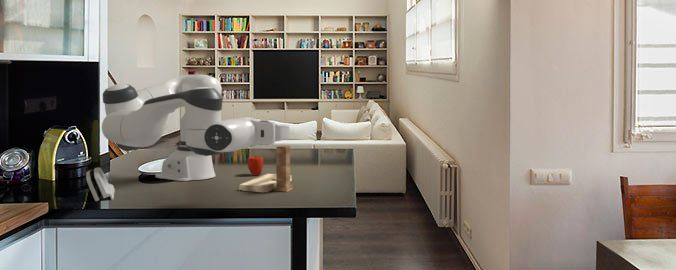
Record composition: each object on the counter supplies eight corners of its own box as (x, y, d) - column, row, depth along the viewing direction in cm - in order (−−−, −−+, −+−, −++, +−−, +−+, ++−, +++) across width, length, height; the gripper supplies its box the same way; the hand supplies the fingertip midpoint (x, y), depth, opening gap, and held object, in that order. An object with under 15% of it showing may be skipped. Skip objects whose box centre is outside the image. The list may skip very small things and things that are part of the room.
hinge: (113, 199, 157) (100, 170, 155) (97, 206, 155) (83, 176, 153) (114, 189, 172) (102, 162, 170) (100, 194, 171) (88, 167, 169)
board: (239, 190, 172) (239, 184, 172) (267, 178, 193) (267, 173, 193) (266, 192, 169) (266, 186, 169) (291, 180, 190) (291, 175, 190)
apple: (244, 174, 201) (244, 156, 200) (256, 172, 206) (256, 154, 205) (254, 176, 197) (253, 157, 196) (266, 174, 201) (266, 156, 200)
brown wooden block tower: (268, 190, 173) (268, 146, 171) (274, 187, 178) (274, 144, 176) (287, 191, 171) (287, 147, 169) (292, 188, 176) (292, 145, 174)
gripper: (214, 141, 150) (237, 137, 163) (277, 144, 144) (296, 140, 157) (213, 120, 150) (237, 117, 163) (277, 122, 143) (296, 119, 157)
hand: (266, 128), depth 160 cm, fingers open, 8 cm apart
